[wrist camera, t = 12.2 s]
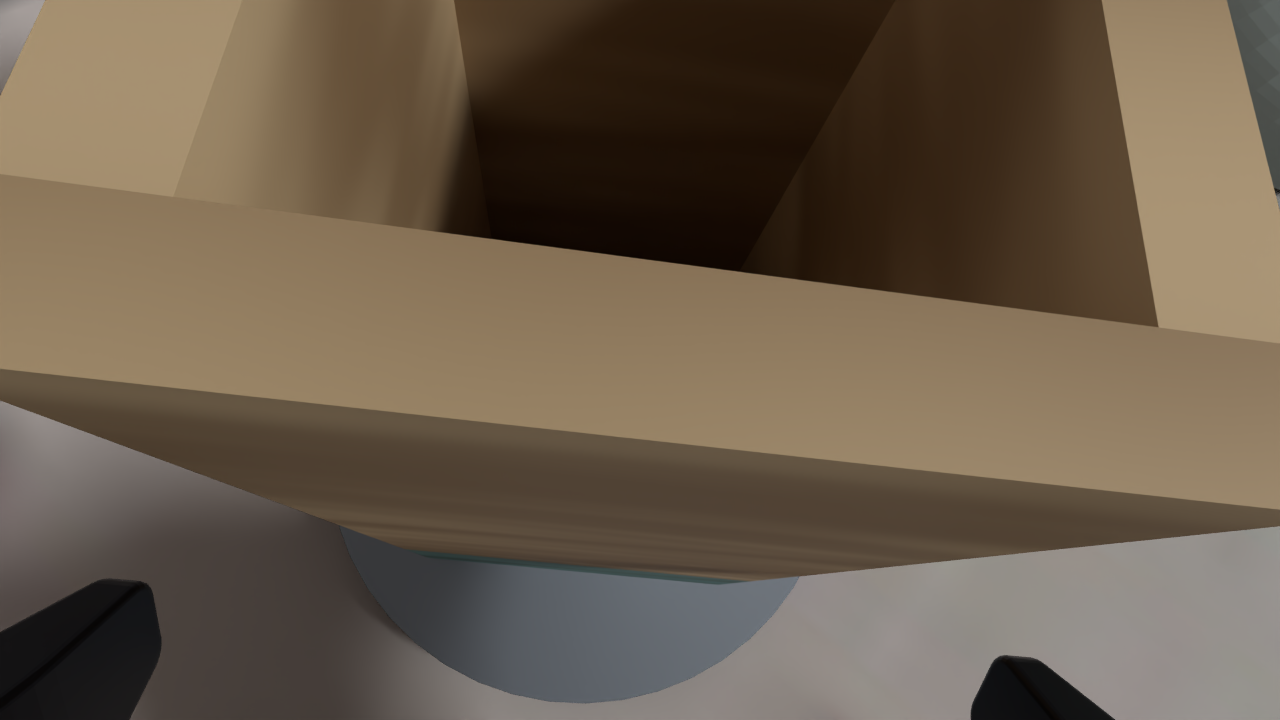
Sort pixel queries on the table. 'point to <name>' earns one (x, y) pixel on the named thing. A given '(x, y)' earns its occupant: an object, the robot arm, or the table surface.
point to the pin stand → (562, 622)
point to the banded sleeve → (658, 271)
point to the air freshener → (1262, 69)
